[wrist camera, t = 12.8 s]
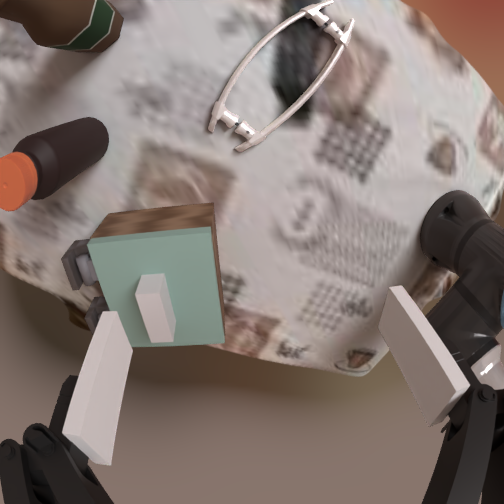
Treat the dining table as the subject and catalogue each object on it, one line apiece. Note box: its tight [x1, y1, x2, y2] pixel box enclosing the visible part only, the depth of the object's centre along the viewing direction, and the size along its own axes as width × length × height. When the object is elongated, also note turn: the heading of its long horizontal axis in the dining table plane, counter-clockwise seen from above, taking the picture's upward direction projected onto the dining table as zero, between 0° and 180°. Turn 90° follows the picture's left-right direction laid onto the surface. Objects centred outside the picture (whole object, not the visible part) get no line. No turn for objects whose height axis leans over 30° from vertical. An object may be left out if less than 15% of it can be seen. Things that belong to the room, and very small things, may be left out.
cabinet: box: [61, 203, 225, 336], centre depth 43 cm, size 20×18×10 cm
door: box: [75, 227, 225, 347], centre depth 38 cm, size 18×18×6 cm
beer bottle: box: [0, 0, 124, 52], centre depth 18 cm, size 8×8×24 cm
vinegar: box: [0, 117, 109, 211], centre depth 28 cm, size 7×7×20 cm
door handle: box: [208, 0, 355, 152], centre depth 34 cm, size 3×10×25 cm
